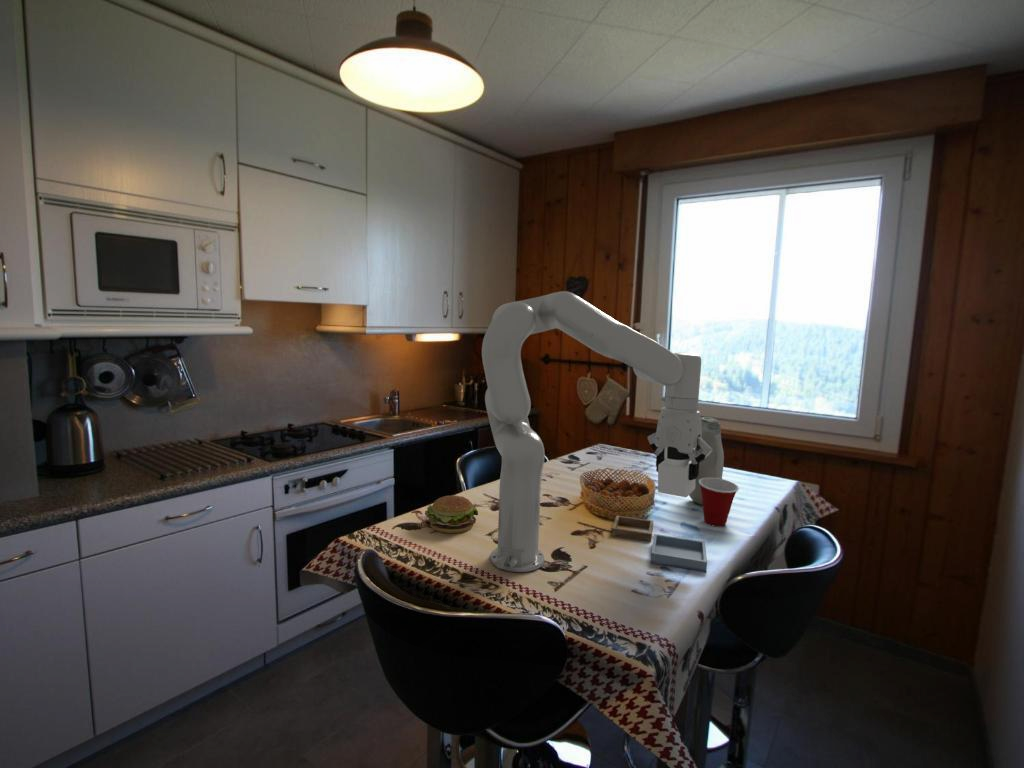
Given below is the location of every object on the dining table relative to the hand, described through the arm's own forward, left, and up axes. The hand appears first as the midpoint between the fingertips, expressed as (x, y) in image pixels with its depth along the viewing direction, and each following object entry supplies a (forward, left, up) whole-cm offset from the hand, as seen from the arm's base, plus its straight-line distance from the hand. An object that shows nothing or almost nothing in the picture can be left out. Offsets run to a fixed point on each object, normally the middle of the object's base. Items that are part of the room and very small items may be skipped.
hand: (676, 474), depth 129 cm
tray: (-2, -2, -20) cm, 20 cm away
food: (-6, +57, -20) cm, 61 cm away
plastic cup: (+26, -12, -20) cm, 35 cm away
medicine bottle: (+1, 0, -4) cm, 4 cm away
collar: (+10, +10, -20) cm, 25 cm away
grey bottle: (+43, -9, -20) cm, 48 cm away
